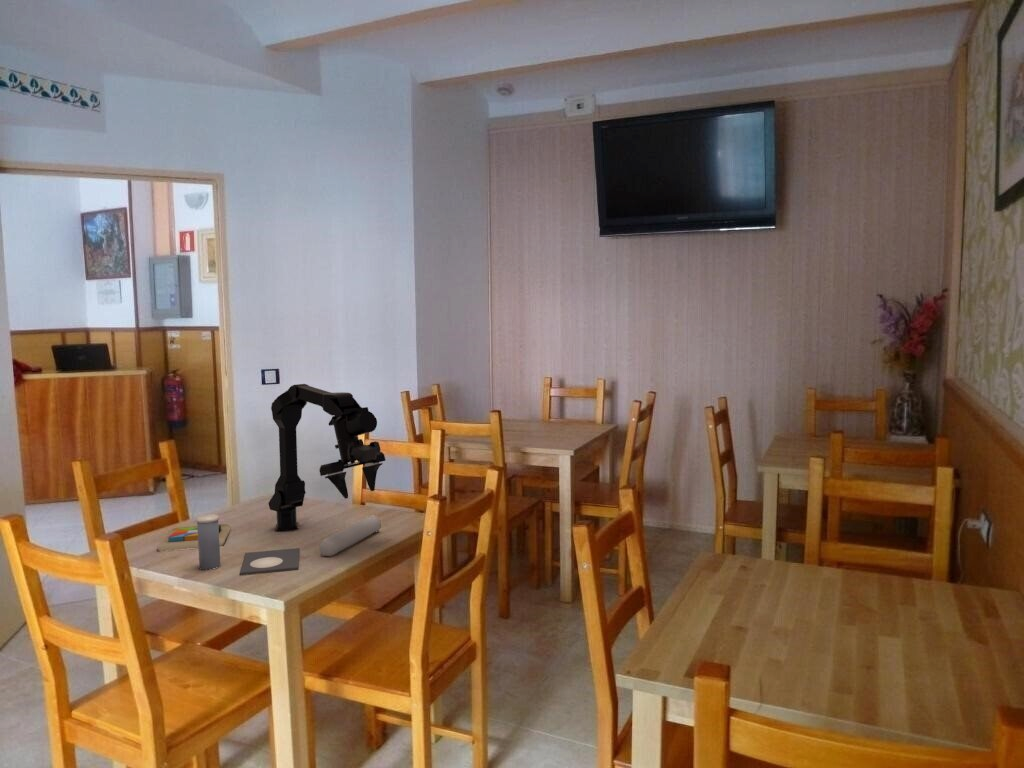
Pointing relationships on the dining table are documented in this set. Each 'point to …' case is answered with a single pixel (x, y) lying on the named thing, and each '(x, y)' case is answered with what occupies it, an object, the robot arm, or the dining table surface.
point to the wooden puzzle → (189, 537)
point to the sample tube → (208, 541)
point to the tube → (349, 535)
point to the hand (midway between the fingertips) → (359, 494)
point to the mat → (270, 561)
